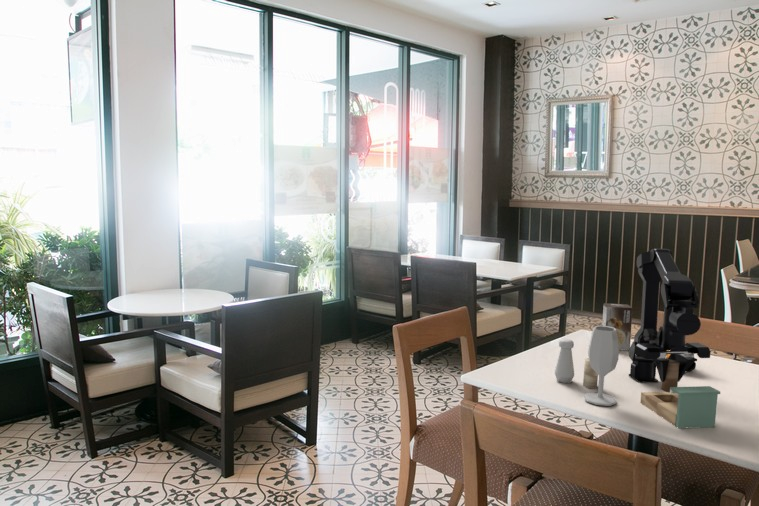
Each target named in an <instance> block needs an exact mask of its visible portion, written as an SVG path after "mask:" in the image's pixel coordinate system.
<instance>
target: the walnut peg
mask: <svg viewBox="0 0 759 506" xmlns="http://www.w3.org/2000/svg"><path fill="white" fill-rule="evenodd" d="M668 360H669V364H668V369H667V373H666V378H665V381H664V382H662V381H661V380H660V390H661V392H670V387H679V386H678V384H679V382H678V374H679V362H678V361H675V360H670V359H668Z"/></svg>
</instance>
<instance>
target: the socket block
mask: <svg viewBox="0 0 759 506" xmlns="http://www.w3.org/2000/svg"><path fill="white" fill-rule="evenodd" d="M678 395H679V394H671V393H670V392H665V391H644V392H643V391H641V392H640V403H641V404H642V405H643V406H645V407H646V408H648V409H649V410H650V411H652V412H653V411H654V412H653V413H655V414H656V415H658V416H659V417H661V418H662V417H663V418H662V419H664V420H665V421H667V422H669V423H670V424H671V423H672V424H671V425H673V426H674V425H675V426H674V427H676V417H677V406H678Z"/></svg>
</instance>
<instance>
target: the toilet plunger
mask: <svg viewBox="0 0 759 506" xmlns="http://www.w3.org/2000/svg"><path fill="white" fill-rule="evenodd" d="M666 351H670V350H666ZM666 359H670V360H675V361H677V360H676V356H675V354H666ZM696 363H697V362H696V361H694V362H693V364H692V365H691V366H690V367H689V368H688V369H687V371H686V372H687V373H691V372H693V371H694V370H695V369H696V366H697V364H696Z"/></svg>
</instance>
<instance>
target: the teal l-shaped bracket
mask: <svg viewBox="0 0 759 506" xmlns="http://www.w3.org/2000/svg"><path fill="white" fill-rule="evenodd" d="M670 393H671V394H679V395H678V406H677V417H676V426H675V427H676V428H677V427H678V428H677V429H691V428H690V427H701V428H715V427H714V426H716V415H717V407H718V406H717V405H718V396H719V395H721V391H720V390H718V389H716V388H714V387H713V386H710V385H707V386H706V385H703V386H699V385H698V386H677V387H670ZM686 427H688V428H686Z"/></svg>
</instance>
